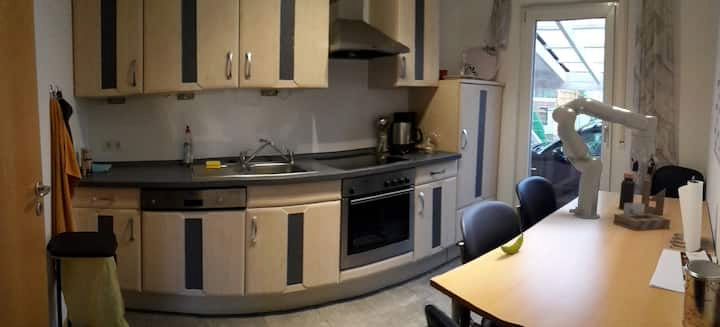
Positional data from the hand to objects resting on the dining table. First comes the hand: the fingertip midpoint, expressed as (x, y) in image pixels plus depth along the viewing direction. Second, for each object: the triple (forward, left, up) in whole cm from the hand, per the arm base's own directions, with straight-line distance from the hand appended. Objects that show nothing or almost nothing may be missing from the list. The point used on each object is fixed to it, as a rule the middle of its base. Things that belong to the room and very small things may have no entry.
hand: (642, 172), depth 275 cm
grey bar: (-5, -2, -24) cm, 24 cm away
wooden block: (+14, +6, -24) cm, 29 cm away
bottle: (+8, +18, -24) cm, 31 cm away
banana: (-100, -44, -24) cm, 112 cm away
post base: (-13, -16, -24) cm, 31 cm away
